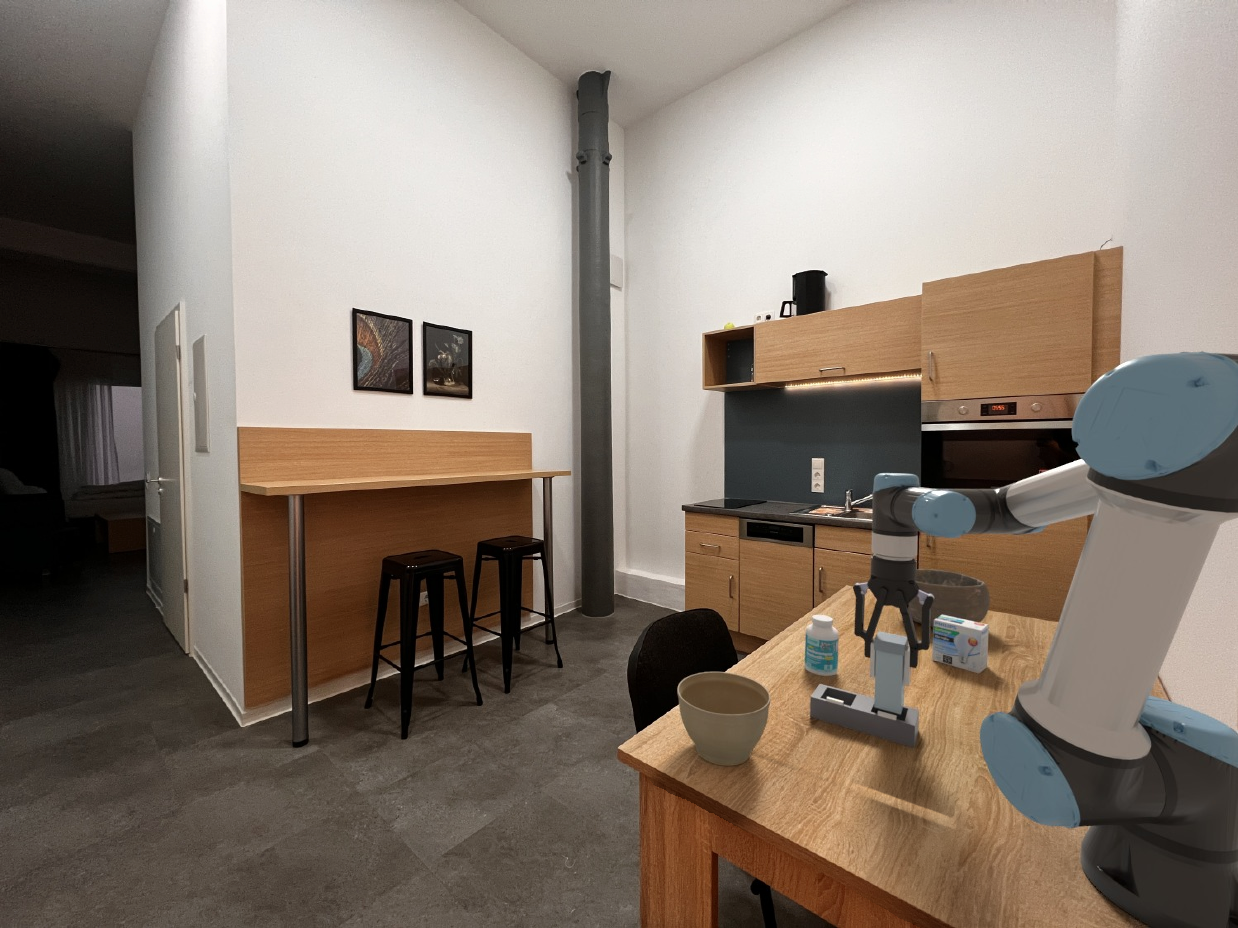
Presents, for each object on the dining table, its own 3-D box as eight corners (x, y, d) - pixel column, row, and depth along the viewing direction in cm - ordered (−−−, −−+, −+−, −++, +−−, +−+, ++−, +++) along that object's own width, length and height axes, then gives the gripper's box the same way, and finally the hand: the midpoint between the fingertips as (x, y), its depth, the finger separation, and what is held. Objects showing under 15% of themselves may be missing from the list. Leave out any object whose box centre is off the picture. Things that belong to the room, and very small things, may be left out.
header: (914, 753, 92) (915, 722, 91) (809, 721, 102) (810, 693, 102) (918, 735, 97) (919, 706, 97) (819, 707, 108) (819, 680, 107)
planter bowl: (705, 717, 103) (705, 663, 103) (783, 747, 93) (784, 688, 93) (658, 753, 91) (659, 692, 90) (743, 793, 81) (744, 725, 80)
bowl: (913, 607, 176) (914, 564, 176) (999, 627, 158) (1000, 578, 157) (882, 622, 161) (883, 575, 161) (972, 646, 142) (974, 592, 142)
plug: (902, 715, 94) (904, 645, 93) (872, 707, 96) (874, 638, 96) (905, 704, 98) (908, 636, 97) (876, 696, 101) (878, 631, 100)
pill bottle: (802, 675, 123) (803, 619, 122) (806, 664, 129) (807, 610, 129) (836, 682, 119) (837, 624, 119) (839, 670, 126) (840, 615, 125)
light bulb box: (931, 660, 132) (932, 618, 132) (939, 653, 137) (941, 613, 137) (980, 674, 124) (982, 630, 124) (988, 666, 129) (989, 624, 129)
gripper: (952, 559, 94) (947, 684, 95) (846, 546, 104) (843, 660, 105) (950, 566, 88) (945, 701, 89) (837, 553, 98) (834, 673, 99)
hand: (889, 678), depth 97 cm, fingers closed on plug, 5 cm apart
